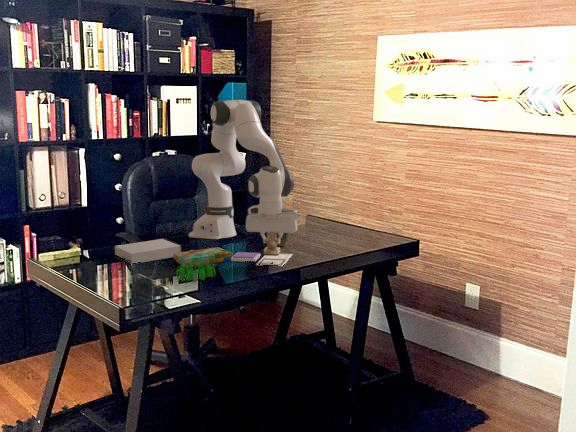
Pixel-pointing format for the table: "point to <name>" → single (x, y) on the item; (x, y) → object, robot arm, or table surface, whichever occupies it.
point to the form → (275, 259)
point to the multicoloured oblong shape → (202, 256)
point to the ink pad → (245, 256)
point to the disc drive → (148, 250)
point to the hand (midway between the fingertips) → (271, 243)
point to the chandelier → (195, 271)
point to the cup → (282, 239)
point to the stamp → (271, 245)
